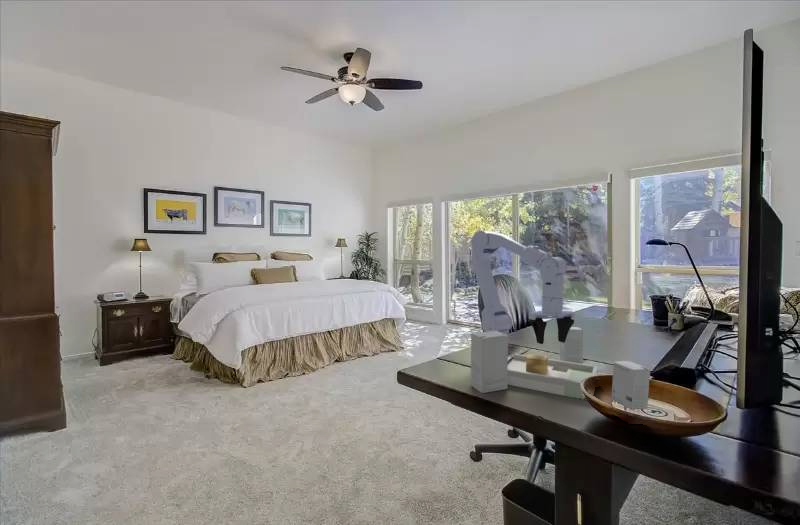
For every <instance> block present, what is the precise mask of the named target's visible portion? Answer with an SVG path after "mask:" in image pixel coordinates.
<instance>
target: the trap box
mask: <svg viewBox="0 0 800 525" xmlns="http://www.w3.org/2000/svg"><path fill="white" fill-rule="evenodd" d="M527 356H528V355H525V354H521V353H520V354H519V353H514V354H513V359H512V360H511V361H510V362H509V363H508V379H507V380H508V381H507V386H513V387H517V388H518V387H519V388H523V389H530V390H534V391H539V392H545V393H547V394H548V393H549V394H553V395H554V394H555V395H560V396H565V397H569V398H575V397H576V398H575V399H579V398H582V399H581V400H584V397H583V395H582V393H581V391H580V388H579V384H580V383H581V382H580V381H581V380H582V379H584V378H585V377H587V376H590V375H591V376H592V375H596V374H598V373H599V372H598V371H599V366H597V365H591V364H585V363H583V364H579V363H573V362H566V361H560V359H551V358H548V370H547V371H546V373H545V374H538V373H532V372H527V371H526V357H527Z"/></svg>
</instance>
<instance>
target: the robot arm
mask: <svg viewBox="0 0 800 525" xmlns="http://www.w3.org/2000/svg"><path fill="white" fill-rule="evenodd" d="M470 244H471V249H472V250H471V262H472V265H473V268H474V273H475V276H476V279H477V283H478V288H479V291H480V295H481V298H482V303H483V306H484V308H483V310H482V311H481V313H480V315H481V327H482V329H483V332H488V331H498V332H500V333H503V334H506V335H508V336H509V333H510V332H509V331H510V330H511V329H512V327H513V318H512V317H511V316H510V313H508V309H507V307H505V306H504V305H503V304H502V303H501V300H500V296H499V294H498V293H499V292H498V289H497V285H496V283H495V279H494V278H495V277H494V275H493V271H492V268H491V265H490V261H489V260H490V258H491V257H492V256H493V255H494V254H495V252H497V251H498V250H499V249H500V248H503V249H505V250H507V251H509V252H511V253H514V254H515V255H517V256H520V258H521V261H522V262H523V263H525V264H527V265H528V266H530V267H532V268H534V269H536V270H538V271H539V272H540V274H541V275H542V293H541V310H539V311H537V310H536V311H531V312H530V311H529V312H528V319H529V323H530V325H531V327H532V329H533V331H534V334H535V339H536V343H537V344H540V345H543V344H544V342H545V330H546V327H547V325H548V322H547V321H544V320H550V319H556V320H555V321H556V324H557V331H558V332H557V340H558V342H559V343H560V342H562V343H565V341H566V337H567V334H568V332H569V330H570V328H571V327H573V325H574V324H575V311H572V310H563V305H564V304H563V300H564V279H565V278H564V276H565V274H566V272H567V270H568V263H567V261H566V260H565V259H564V258H562V257H561V256H553V253H552V252H546V251H544V250H542V249H540V246H538V245H528V246H525V245H523V244H522V243H520V242H518V241H517V240H514V239H513V238H511V237H509V236H507V235H505V234H503V233H500V231H499V232H498V231H487V230H486V231H485V230H477V231H475V232H474V234H473V236H472V237H471V239H470ZM511 359H512V357H511V356H508V362H509V361H510V360H511Z"/></svg>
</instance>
